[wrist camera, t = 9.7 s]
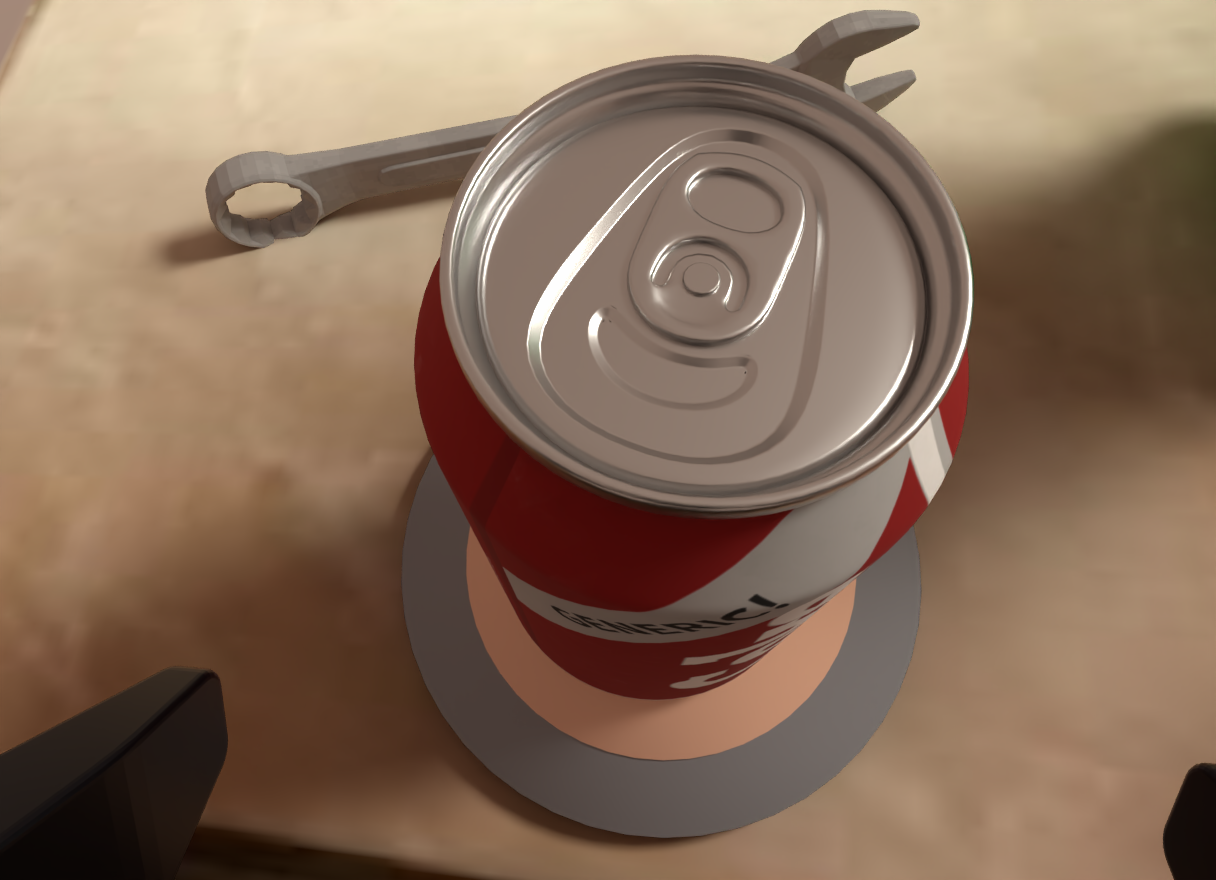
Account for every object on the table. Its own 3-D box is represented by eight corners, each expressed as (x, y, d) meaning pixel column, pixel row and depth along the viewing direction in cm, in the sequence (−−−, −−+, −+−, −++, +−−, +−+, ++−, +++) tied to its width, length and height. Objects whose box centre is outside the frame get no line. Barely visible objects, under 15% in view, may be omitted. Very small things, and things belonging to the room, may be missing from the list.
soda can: (455, 631, 19) (249, 416, 8) (575, 379, 22) (541, -52, 11) (740, 755, 18) (946, 701, 7) (834, 477, 21) (1097, 116, 10)
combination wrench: (177, 185, 21) (956, 29, 22) (174, 144, 22) (938, -7, 23) (242, 270, 25) (912, 131, 26) (238, 233, 25) (897, 98, 26)
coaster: (867, 910, 18) (877, 915, 17) (327, 744, 19) (318, 742, 18) (944, 401, 22) (953, 390, 22) (500, 292, 23) (497, 278, 23)
